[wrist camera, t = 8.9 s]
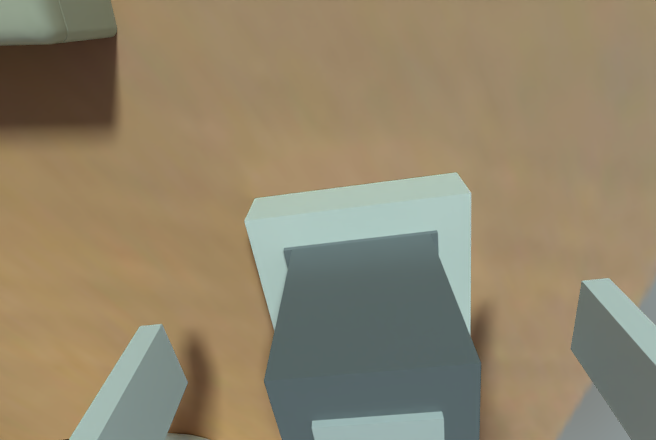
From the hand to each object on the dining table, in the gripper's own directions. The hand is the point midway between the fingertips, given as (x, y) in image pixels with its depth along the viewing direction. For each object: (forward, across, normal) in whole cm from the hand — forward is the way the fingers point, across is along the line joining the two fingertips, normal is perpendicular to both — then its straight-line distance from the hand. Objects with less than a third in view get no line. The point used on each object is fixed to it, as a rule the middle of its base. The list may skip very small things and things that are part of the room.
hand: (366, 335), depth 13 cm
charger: (+3, 0, -1) cm, 3 cm away
